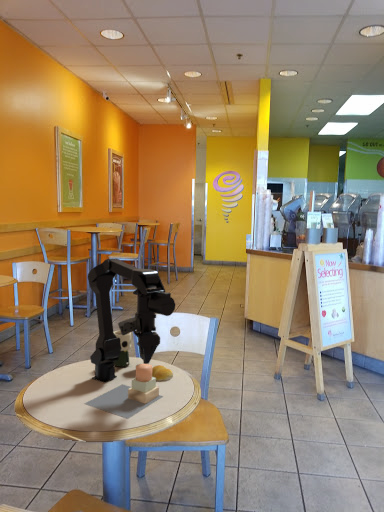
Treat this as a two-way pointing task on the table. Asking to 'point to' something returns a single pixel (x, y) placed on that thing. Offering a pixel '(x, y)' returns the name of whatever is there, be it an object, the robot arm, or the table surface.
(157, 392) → the tower base
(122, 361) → the character mug
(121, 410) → the mat
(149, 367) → the peach gumdrop
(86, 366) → the table surface
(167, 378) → the bread roll
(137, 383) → the tower top
